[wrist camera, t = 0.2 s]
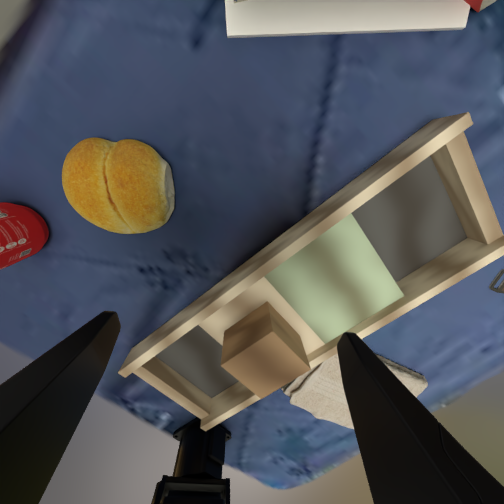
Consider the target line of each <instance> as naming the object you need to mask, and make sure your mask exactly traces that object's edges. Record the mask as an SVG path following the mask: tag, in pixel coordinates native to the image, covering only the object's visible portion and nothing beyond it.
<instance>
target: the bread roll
mask: <svg viewBox="0 0 504 504" xmlns="http://www.w3.org/2000/svg"><path fill="white" fill-rule="evenodd" d="M62 184H63V188H64V192H65V194H66V197H67V199H68V201H69V203H70V204H71V205H72V207H73V208H74V209H75V210H76V211H77V212H78V213H79V214H80V215H81V216H82V217H84V218H85V219H86V220H88V221H89V222H91V223H93V224H94V225H96V226H98V227H101V228H103V229H105V230H108V231H111V232H115V233H121V234H133V233H146V232H149V231H152V230H155V229H157V228H159V227H161V226H162V225H164V224H165V223H166V222H167V221H168V219H169V218H170V216H171V214H172V212H173V210H174V194H175V192H174V185H173V178H172V173H171V168H170V166H169V164H168V163H167V162H166V161H165V160H164V159H163V158H162V157H161V156H160V155H159V154H158V153H157V152H156V151H155V150H154V149H153V148H152V147H150V146H149V145H147V144H145V143H142V142H140V141H137V140H134V139H124V140H120V141H118V142H111V141H108V140H105V139H101V138H87V139H85V140H82V141H81V142H79V143H78V144H76V145H75V146H74V147H73V148H72V149H71V151H70V152H69V153H68V154H67V156H66V159H65V161H64V165H63V170H62Z"/></svg>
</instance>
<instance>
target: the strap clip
mask: <svg viewBox="0 0 504 504" xmlns="http://www.w3.org/2000/svg"><path fill="white" fill-rule="evenodd" d="M503 273H504V269H502V270H501V271H500V272H499V273H498V274H497V276H496V277H495V279H494V280H493V281H492V283H491V284H490V285H489V288H490V289H491V290H493V291H495V292H499V293H504V280H503V281H502V283H501V284H500V285H499V287H498V288H497V289H496V288H494V285H495V284H496V283H497V281H498V280H499V279H500V277H501V276H502V275H503Z"/></svg>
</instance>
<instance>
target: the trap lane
mask: <svg viewBox="0 0 504 504" xmlns="http://www.w3.org/2000/svg"><path fill="white" fill-rule="evenodd" d="M472 124H473V122H472V120H471V117H470V114H469V112H467V113H462V114H458V115H453V116H448V117H443V118H439V119H434V120H432V121H430V122H429V123H428V124H426V125H425V126H424V127H422V128H421V129H420V130H418V131H417V132H416V133H415V134H413V135H412V136H411V137H409V138H408V139H407V140H405V141H404V142H403V143H401V144H400V145H399V146H397V147H396V148H395V149H393V150H392V151H391V152H390V153H388V154H387V155H386V156H384V157H383V158H382V159H380V160H379V161H378V162H376V163H375V164H374V165H372V166H371V167H370V168H369V169H367V170H366V171H365V172H363V173H362V174H361V175H359V176H358V177H357V178H355V179H354V180H353V181H351V182H350V183H349V184H348V185H346V186H345V187H344V188H342V189H341V190H340V191H338V192H337V193H336V194H334V195H333V196H332V197H330V198H329V199H328V200H326V201H325V202H324V203H323V204H321V205H320V206H319V207H317V208H316V209H315V210H313V211H312V212H311V213H309V214H308V215H307V216H305V217H304V218H303V219H302V220H300V221H299V222H298V223H296V224H295V225H294V226H292V227H291V228H290V229H288V230H287V231H286V232H284V233H283V234H282V235H281V236H279V237H278V238H277V239H275V240H274V241H273V242H271V243H270V244H269V245H267V246H266V247H265V248H263V249H262V250H261V251H259V252H258V253H257V254H256V255H254V256H253V257H252V258H250V259H249V260H248V261H246V262H245V263H244V264H242V265H241V266H240V267H238V268H237V269H236V270H235V271H233V272H232V273H231V274H229V275H228V276H227V277H225V278H224V279H223V280H221V281H220V282H219V283H217V284H216V285H215V286H214V287H212V288H211V289H210V290H208V291H207V292H206V293H204V294H203V295H202V296H200V297H199V298H198V299H196V300H195V301H194V302H192V303H191V304H190V305H189V306H187V307H186V308H185V309H183V310H182V311H181V312H179V313H178V314H177V315H175V316H174V317H173V318H171V319H170V320H169V321H168V322H166V323H165V324H164V325H162V326H161V327H160V328H158V329H157V330H156V331H154V332H153V333H152V334H150V335H149V336H148V337H147V338H145V339H144V340H143V341H141V342H140V343H139V344H137V345H136V346H135V347H133V348H132V349H131V351H130V353H129V354H128V356H127V358H126V360H125V361H124V363H123V365H122V367H121V368H120V370H119V372H118V373H119V374H120V375H122V376H123V377H127V376H128V375H129V374H131V373H132V372H133V373H134V374H136V375H137V376H139V377H140V378H141V379H143V380H144V381H146V382H147V383H149V384H150V385H152V386H153V387H155V388H156V389H157V390H159V391H160V392H162V393H163V394H165V395H166V396H168V397H169V398H171V399H172V400H173V401H175V402H176V403H178V404H179V405H181V406H182V407H184V408H185V409H187V410H188V411H189V412H191V413H192V414H194V415H195V416H197V417H198V418H200V419H201V425H200V428H201V429H203V430H204V431H207V430H209V429H210V428H212V427H214V426H216V425H217V424H219V423H221V422H222V421H224V420H226V419H227V418H229V417H231V416H232V415H234V414H236V413H238V412H239V411H241V410H243V409H244V408H246V407H248V406H249V405H251V404H253V403H254V402H256V401H258V400H259V399H260V398H259V397H258V396H257V395H256V394H254V393H253V392H252V391H251V390H249V389H248V388H247V387H246V386H245V385H243V384H242V383H241V382H240V381H239V380H237V379H236V378H235V377H234V376H233V375H231V374H230V373H229V372H228V371H226V370H225V369H224V368H223V367H222V366H221V357H222V347H223V337H224V331H225V330H227V329H228V328H230V327H231V326H233V325H234V324H235V323H237V322H238V321H240V320H241V319H243V318H244V317H245V316H247V315H248V314H250V313H251V312H253V311H254V310H255V309H257V308H258V307H260V306H261V305H263V304H264V303H265V302H267V301H268V302H269V303H270V304H271V305H272V307H273V308H274V309H275V310H276V311H277V312H278V313H279V314H280V315H281V316H282V317H283V318H284V319H285V320H286V321H287V322H288V323H289V325H290V326H291V327H292V328H293V329H294V330H295V331H296V332H297V333H298V334H299V335H300V337H301V340H302V343H303V346H304V349H305V352H306V356H307V359H308V362H309V365H310V368H311V369H312V368H314V367H315V366H317V365H319V364H320V363H322V362H324V361H325V360H327V359H329V358H330V357H332V356H334V355H335V354H337V353H338V352H337V343H338V341H339V340H340V338H341V336H342V334H343V333H344V332H354V333H356V334H357V335H358V336H359V337H360V338H361V339H362V338H364V337H366V336H368V335H369V334H371V333H373V332H374V331H376V330H378V329H379V328H381V327H383V326H384V325H386V324H388V323H390V322H391V321H393V320H395V319H396V318H398V317H400V316H401V315H403V314H405V313H406V312H408V311H410V310H411V309H413V308H415V307H417V306H418V305H420V304H422V303H423V302H425V301H427V300H428V299H430V298H432V297H433V296H435V295H437V294H439V293H440V292H442V291H444V290H445V289H447V288H449V287H450V286H452V285H454V284H455V283H457V282H459V281H460V280H462V279H464V278H466V277H467V276H469V275H471V274H472V273H474V272H476V271H477V270H479V269H481V268H482V267H484V266H486V265H487V264H489V263H491V262H493V261H494V260H496V259H498V258H499V257H501V256H503V255H504V236H503V233H502V230H501V228H500V225H499V223H498V220H497V217H496V215H495V212H494V210H493V207H492V204H491V202H490V199H489V197H488V194H487V191H486V189H485V186H484V184H483V181H482V178H481V176H480V173H479V170H478V168H477V165H476V163H475V160H474V157H473V155H472V152H471V150H470V147H469V144H468V142H467V139H466V137H465V134H464V130H466V129H467V128H468V127H470V126H471V125H472Z"/></svg>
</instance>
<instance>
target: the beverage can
mask: <svg viewBox="0 0 504 504" xmlns="http://www.w3.org/2000/svg"><path fill="white" fill-rule="evenodd" d="M48 238H49V228H48V225H47V223H46V222H45V220H44V219H43V217H42V216H41V215H40V214H39V213H37V212H36V211H35V210H33V209H31V208H29V207H26V206H23V205H16V204H12V203H4V202H3V203H0V270H1V269H3V268H5V267H8V266H10V265H12V264H14V263H16V262H19V261H21V260H23V259H25V258H27V257H30V256H32V255H34V254H36V253H37V252H39V251H40V250H41V248H42V247H43V245H44V244H45V243H46V242H47V240H48Z"/></svg>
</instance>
